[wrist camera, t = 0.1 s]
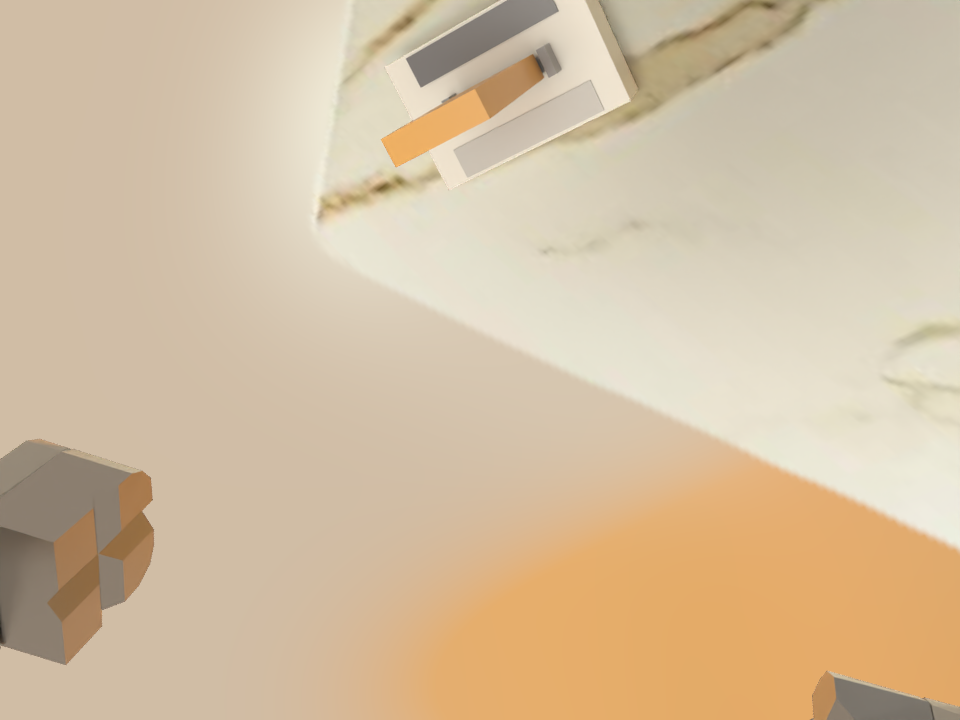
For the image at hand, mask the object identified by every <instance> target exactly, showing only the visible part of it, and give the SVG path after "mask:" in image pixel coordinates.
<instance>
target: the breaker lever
mask: <svg viewBox="0 0 960 720" xmlns="http://www.w3.org/2000/svg"><path fill="white" fill-rule="evenodd" d="M544 72H545V70H544V67H543V65H542V63H541V61H540V59H539V58H538V57H536V58H535V57H534V55H533V54H532V55H530V56H528V57H526V58H524V59H522V60H520V61H519V62H517V63H515V64H513V65H511V66H509V67H508V68H506V69H504V70H502V71H500V72H498V73H496V74H495V75H493V76H491V77H489V78H487V79H485V80H483V81H482V82H480V83H478V84H476V85H474V86H472V87H470V88H469V89H467V90H465V91H463V92H461V93H459V94H458V95H456V96H454V97H452V98H451V99H449V100H447V101H445V102H444V103H442V104H440V105H439V106H437V107H435V108H434V109H432V110H430V111H428V112H427V113H425V114H423V115H422V116H420V117H418V118H416V119H415V120H413V121H411V122H410V123H408V124H406V125H404V126H403V127H401V128H399V129H398V130H396V131H394V132H393V133H391V134H389V135H387V136H386V137H384V138H382V139H381V141H382V143H383V144H384V146H385V148H386V150H387V152H388V154H389V155H390V157H391V159H392V161H393V163H394V165H395V167H398V166H400V165H402V164H404V163H406V162H407V161H409V160H411V159H413V158H415V157H417V156H419V155H421V154H423V153H425V152H427V151H429V150H431V149H433V148H434V147H436V146H438V145H440V144H442V143H444V142H446V141H448V140H450V139H452V138H454V137H456V136H458V135H460V134H461V133H463V132H465V131H467V130H469V129H471V128H473V127H475V126H477V125H479V124H481V123H483V122H485V121H487V120H488V119H490V118H492V117H493V116H494V115H496V114H497V113H498V112H500V111H501V110H502V109H504V108H505V107H506V106H508V105H509V104H510V103H512V102H513V101H514V100H516V99H517V98H518V97H519V96H521V95H522V94H523V93H525V92H526V91H527V90H529V89H530V88H531V87H533V86H534V85H535V84H537V83H538V82H539V81H541V80H542V79H543V78H544V76H543V73H544Z"/></svg>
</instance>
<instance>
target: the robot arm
mask: <svg viewBox="0 0 960 720" xmlns="http://www.w3.org/2000/svg"><path fill="white" fill-rule="evenodd" d="M152 500H153V499H152V486H151V478H150V477H149V476H148V475H146V473H144V472H143V471H141V470H138V469H135V468H132V467H129V466H126V465H122V464H119V463H116V462H113V461H110V460H107V459H103V458H101V457H97V456H94V455H91V454H88V453H85V452H81V451H78V450H75V449H69V448H67V447H63V446H60V445H57V444H54V443H51V442H47V441H45V440H42V439H35V440H28V441H25V442H24V443H22V444H21V445H20V446H18V447H17V448H15V449H14V450H12V451H11V452H10V453H8V454H7V455H5V456H4V457H3V458H1V459H0V645H1V646H5V647H8V648H11V649H15V650H18V651H21V652H25V653H28V654H31V655H34V656H38V657H41V658H44V659H48V660H51V661H54V662H57V663H61V664H64V665H66V664H67V663H68V662H69V661H70V660H71V659H72V658H73V657H74V656H75V655H76V654H77V653H78V652H79V650H80V649H81V648H82V647H83V646H84V645H85V644H86V643H87V642H88V641H89V640H90V639H91V638H92V636H93V635H94V634H95V633H96V632H97V631H98V630H99V629H100V628H101V627H102V610H104V609H106V608H109V607H112V606H114V605H117V604H119V603H122V602H125V601H126V600H127V598H128V597H129V596H130V595H131V594H132V593H133V592H134V591H135V589H136V588H137V587H138V586H139V584H140V582H141V580H142V579H143V577H144V575H145V573H146V571H147V569H148V567H149V565H150V562H151V557H152V552H153V547H154V529H153V527H152V526H151V524H150V523H149V521H148V520H147V518H146V516H145V515H144V513H143V512H142V510H143V509H144V508H145V507H146V506H147V505H148V504H149V503H150V502H151V501H152ZM0 648H1V647H0ZM812 699H813V700H812V701H813V715H814V718H813V719H811V720H960V707H958V706H954V705H950V704H946V703H943V702H939V701H935V700H932V699H928V698H920V697H917V696H914V695H910V694H907V693H903V692H900V691H896V690H893V689H889V688H886V687H882V686H879V685H875V684H872V683H868V682H864V681H861V680H858V679H854V678H851V677H847V676H844V675H840V674H836V673H833V672H830V671H826V672H825V674H824V675H823V676H822V677H821V678H820V680H819V682H818V684H817V687H816V689H815V691H814V693H813V695H812Z"/></svg>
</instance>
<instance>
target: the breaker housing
mask: <svg viewBox="0 0 960 720" xmlns="http://www.w3.org/2000/svg"><path fill="white" fill-rule="evenodd" d="M532 54H533V55H534V57H535V58H536V57H538V58H539V59H540V61H541V63H542V65H543V67H544V70H545V72H544V73H543V76H544V78H543V79H542V80H541V81H539V82H538V83H537V84H535V85H534V86H533V87H531V88H530V89H529V90H527V91H526V92H525V93H523V94H522V95H521V96H519V97H518V98H517V99H516V100H514V101H513V102H512V103H510V104H509V105H508V106H506V107H505V108H504V109H502V110H501V111H500V112H498V113H497V114H496V115H494V116H493V117H492V118H490V119H488V120H487V121H485V122H483V123H481V124H479V125H477V126H475V127H473V128H471V129H469V130H467V131H465V132H463V133H461V134H460V135H458V136H456V137H454V138H452V139H450V140H448V141H446V142H444V143H442V144H440V145H438V146H436V147H434V148H433V149H431V150H429V151H428V152H429V153H430V155H431V157H432V159H433V161H434V163H435V165H436V167H437V169H438V171H439V172H440V174H441V176H442V178H443V180H444V182H445V184H446V186H447V188H448V190H451V189H453V188H455V187H457V186H459V185H461V184H463V183H465V182H467V181H469V180H471V179H473V178H475V177H477V176H479V175H481V174H483V173H485V172H487V171H489V170H491V169H493V168H495V167H497V166H500V165H502V164H504V163H506V162H508V161H510V160H512V159H514V158H516V157H518V156H520V155H522V154H524V153H526V152H528V151H530V150H532V149H534V148H536V147H538V146H540V145H542V144H544V143H546V142H548V141H550V140H552V139H555V138H557V137H559V136H561V135H563V134H565V133H567V132H569V131H571V130H573V129H575V128H577V127H579V126H581V125H583V124H585V123H587V122H589V121H591V120H593V119H595V118H597V117H599V116H601V115H603V114H605V113H607V112H610V111H612V110H614V109H616V108H618V107H620V106H622V105H624V104H626V103H628V102H630V101H631V100H632V98H633V97H634V95H635V94H636V92H637V91H638V87H637V85H636V83H635V81H634V79H633V76H632V74H631V72H630V70H629V67H628V65H627V63H626V61H625V58H624V56H623V54H622V52H621V50H620V47H619V45H618V43H617V41H616V38H615V36H614V34H613V32H612V29H611V27H610V25H609V23H608V21H607V18H606V16H605V14H604V12H603V9H602V7H601V5H600V3H599V1H598V0H499V1H498V2H496V3H494V4H492V5H491V6H489V7H487V8H486V9H484V10H482V11H480V12H479V13H477V14H475V15H473V16H472V17H470V18H468V19H467V20H465V21H463V22H461V23H460V24H458V25H456V26H454V27H453V28H451V29H449V30H447V31H446V32H444V33H442V34H441V35H439V36H437V37H435V38H434V39H432V40H430V41H428V42H427V43H425V44H423V45H422V46H420V47H418V48H416V49H415V50H413V51H411V52H409V53H408V54H406V55H404V56H403V57H401V58H399V59H397V60H396V61H394V62H392V63H390V64H389V65H387V66H385V67H384V68H385V70H386V72H387V74H388V76H389V77H390V79H391V81H392V83H393V85H394V87H395V89H396V91H397V93H398V95H399V96H400V98H401V100H402V102H403V104H404V106H405V108H406V110H407V112H408V114H409V115H410V117H411V119H412V121H413V120H415V119H416V118H418V117H420V116H422V115H423V114H425V113H427V112H428V111H430V110H432V109H434V108H435V107H437V106H439V105H440V104H442V103H444V102H445V101H447V100H449V99H451V98H452V97H454V96H456V95H458V94H459V93H461V92H463V91H465V90H467V89H469V88H470V87H472V86H474V85H476V84H478V83H480V82H482V81H483V80H485V79H487V78H489V77H491V76H493V75H495V74H496V73H498V72H500V71H502V70H504V69H506V68H508V67H509V66H511V65H513V64H515V63H517V62H519V61H520V60H522V59H524V58H526V57H528V56H530V55H532Z"/></svg>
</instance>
